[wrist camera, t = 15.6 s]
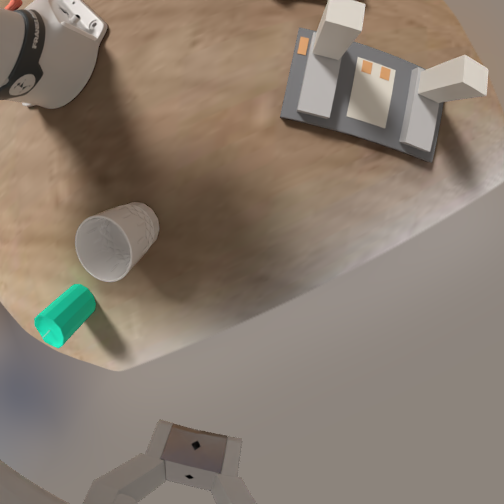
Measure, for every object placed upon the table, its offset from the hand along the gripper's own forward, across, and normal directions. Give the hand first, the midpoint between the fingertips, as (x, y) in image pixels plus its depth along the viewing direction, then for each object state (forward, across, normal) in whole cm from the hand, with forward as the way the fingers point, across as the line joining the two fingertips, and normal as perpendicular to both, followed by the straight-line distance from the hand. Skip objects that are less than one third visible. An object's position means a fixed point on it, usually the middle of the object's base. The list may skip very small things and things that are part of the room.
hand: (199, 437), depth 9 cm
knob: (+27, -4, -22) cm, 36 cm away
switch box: (+31, -10, -19) cm, 38 cm away
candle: (+31, +27, +20) cm, 46 cm away
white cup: (+31, +16, +4) cm, 35 cm away
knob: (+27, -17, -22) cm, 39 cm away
